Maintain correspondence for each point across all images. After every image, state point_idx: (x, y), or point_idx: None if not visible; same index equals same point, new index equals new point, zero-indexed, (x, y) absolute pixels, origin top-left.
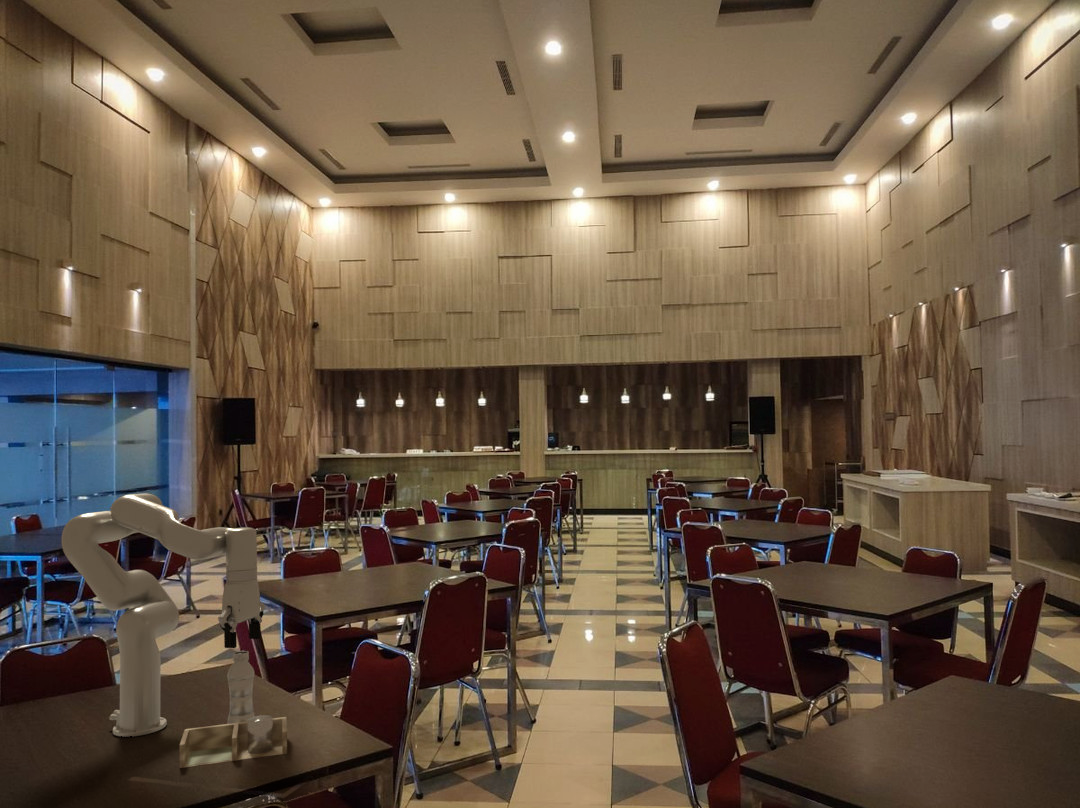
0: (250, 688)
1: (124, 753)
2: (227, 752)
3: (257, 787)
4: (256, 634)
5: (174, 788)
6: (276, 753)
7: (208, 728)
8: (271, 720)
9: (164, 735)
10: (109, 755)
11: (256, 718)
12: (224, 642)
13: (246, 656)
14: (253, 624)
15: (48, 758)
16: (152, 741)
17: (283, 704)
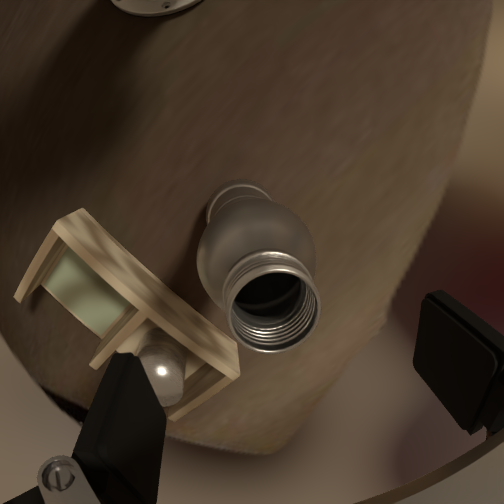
0: (257, 282)
1: (42, 84)
2: (117, 305)
3: (87, 411)
4: (430, 370)
5: (14, 320)
6: None
7: (92, 267)
8: (169, 404)
9: (147, 50)
10: (29, 71)
11: (153, 379)
12: (104, 377)
13: (270, 342)
14: (480, 399)
15: (5, 7)
16: (108, 63)
17: (426, 161)
